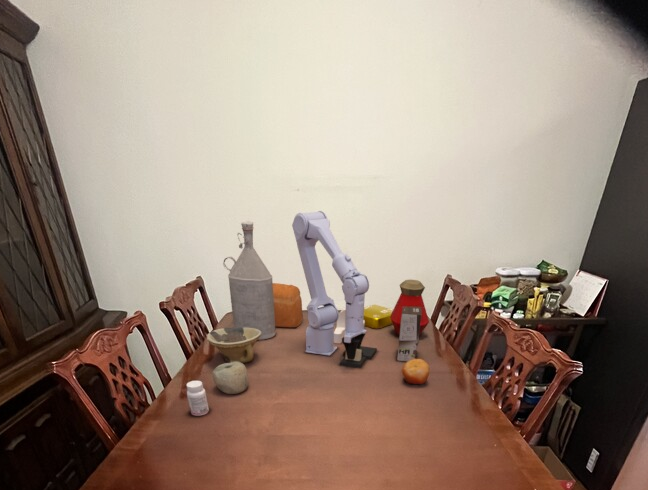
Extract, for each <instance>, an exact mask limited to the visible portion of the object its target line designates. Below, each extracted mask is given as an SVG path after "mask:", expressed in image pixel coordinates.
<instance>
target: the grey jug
mask: <svg viewBox="0 0 648 490" xmlns="http://www.w3.org/2000/svg"><path fill="white" fill-rule="evenodd" d="M240 225H241V230H242V232H243V234H242V233H240V232H237V233H236V235H237V239H238V241H239V242H240V243H239V245H238V248H239V249H242V251H241V252H240V254H239V256H238V257H237V259H235V258H234V257H233V256H226V257H225V258H224V260H223V263H222V266H224V269H226V270H228V272H229V273H228V274H227V275H228V276H227V277H228V287H229V295H230V303H231V313H232V320H233V327H246V328H254V329H258V330H260V331H261V336H260V338H258V340H257V341H262V340H267V339H271V338H273V337H275V336H276V334H277V332H276V327H275V314H274V298H273V283H274V282H273V275H272V274H271V272H270V271H269V269H268V267H267V266H266V264H265V263H264V262H263V260H262V258H261V257H260V255H259V254H258V252H257V250H256V249H255V247H254V222H253V221H250V220H245V221H242V222H241V223H240ZM239 235H240V236H242V238H243V241H244V242H241V239H240V237H239ZM243 244H244V246H243ZM228 259H230V260H232V261H233V263H234V264H233V265H232V267H231V268H228V266H226V264H225V262H226V260H228Z"/></svg>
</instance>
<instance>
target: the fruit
mask: <svg viewBox="0 0 648 490" xmlns="http://www.w3.org/2000/svg"><path fill="white" fill-rule="evenodd" d="M401 373H402V376H403V378H404V380H405V381H406V383H407V384H410V385H423V384H425V383H426V382H427V380H428V378H429V376H430V375H429V374H430V366H429V363H427V362H426V361H425V360H424V359H423V358H416V359H412V360H409V361H405V362H404V364H403V366H402V368H401Z"/></svg>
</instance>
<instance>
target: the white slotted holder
mask: <svg viewBox="0 0 648 490" xmlns="http://www.w3.org/2000/svg"><path fill="white" fill-rule="evenodd" d="M345 317H346V306H345V307H343V308H342V309H340V311H339V318H338V320H337V321H336V327H335V328H334V344H342V343H343V342H342V338H343V337H344V336H345ZM364 325H365V320H363V329H365V326H364Z"/></svg>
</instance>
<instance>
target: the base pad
mask: <svg viewBox="0 0 648 490" xmlns="http://www.w3.org/2000/svg"><path fill="white" fill-rule="evenodd" d="M360 349H361V350H362V352H361V354H362V356H363V357H366V360H372V359H373V357H374V356H375V355H376V353H377V351H378V348H377V347H372V346H371V347H370V346H363V345H361V346H360ZM342 356H343V357H345V356H346V349H345V350H344V351H343V352H342Z"/></svg>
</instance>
